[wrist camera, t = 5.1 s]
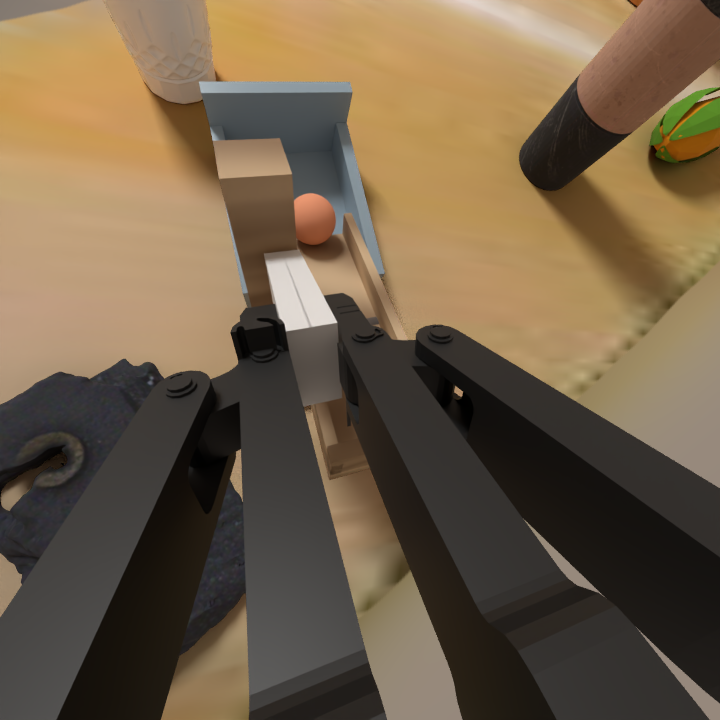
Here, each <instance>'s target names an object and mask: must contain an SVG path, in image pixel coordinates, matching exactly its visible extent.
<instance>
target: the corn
mask: <svg viewBox="0 0 720 720" xmlns="http://www.w3.org/2000/svg"><path fill="white" fill-rule="evenodd" d="M718 90H720V87H718V88H709V89H705V90H700V91H696V92H694V93H693V94H691V95H689V96H688V97H686V98H684V99H682V100H681V101H679V102H677V103H676V104H674V105H672V106H671V107H670V109H669V110H668V111H667V112H666V114H665V115H664V116H663V118H662V119H661V120H660V122H659V123H658V125H657V126H656V127H655V129H654V130H653V132H652V135H651V140H650V145H653V146H654V147H655V148H656V150H657V152H656V157H658V158H660V159H662V160H665V161H668V162H671V163H684V162H691V161H694V160H697V159H699V158H702V157H705V156H707V155H708V154H710V153H712V152H714V151H715V150H717V149H718V148H719V147H718V146H719V145H720V96H719V97H715V98H712V99H708V100H704V101H701V102H697V101H698V100H699V99H701V98H702V97H703V96H704V95H708V94H711V93H713V92H716V91H718ZM696 102H697V103H696Z"/></svg>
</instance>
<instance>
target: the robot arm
mask: <svg viewBox="0 0 720 720" xmlns="http://www.w3.org/2000/svg"><path fill="white" fill-rule="evenodd" d="M264 258H265V263H266V268H267V274H268V279H269V284H270V290H271V295H272V301H273V304H270V305H263V306H256V307H250V308H246V309H245V310H244V311H243V313H242V314H241V315H240V322H238V323H237V324H236V325H235V326H233V327H232V330H231V332H230V333H231V336H232V340H233V343H234V347H235V350H236V354H237V357H238V365H237V366H236V367H235V368H233V369H232V370H230V371H229V372H227V373H225V374H223V375H221V376H218V377H216V378H213V379H210V378H209V376H208V375H207V374H205V373H203V372H201V371H185V372H179V373H176V374H173V375H171V376H168V377H167V378H165V379H163V380H162V381H160V382H159V383H158V384H157V385H156V386H155V387H154V388H153V389H152V390H151V392H150V393H149V395H148V396H147V398H146V399H145V401H144V402H143V404H142V405H141V407H140V408H139V410H138V411H137V413H136V414H135V416H134V417H133V419H132V420H131V422H130V423H129V425H128V426H127V428H126V429H125V431H124V432H123V434H122V435H121V437H120V438H119V440H118V441H117V443H116V445H115V446H114V448H113V449H112V451H111V452H110V454H109V455H108V457H107V458H106V460H105V461H104V463H103V464H102V466H101V467H100V469H99V470H98V472H97V473H96V475H95V476H94V478H93V479H92V481H91V482H90V484H89V485H88V487H87V488H86V490H85V491H84V493H83V494H82V496H81V497H80V499H79V500H78V502H77V503H76V505H75V506H74V508H73V509H72V511H71V512H70V514H69V515H68V517H67V518H66V520H65V521H64V523H63V524H62V526H61V527H60V529H59V530H58V532H57V533H56V535H55V536H54V538H53V539H52V541H51V542H50V544H49V545H48V547H47V548H46V550H45V551H44V553H43V554H42V556H41V557H40V559H39V560H38V562H37V563H36V565H35V566H34V568H33V569H32V571H31V572H30V574H29V575H28V577H27V578H26V580H25V581H24V583H23V584H22V586H21V587H20V589H19V590H18V592H17V593H16V595H15V596H14V598H13V599H12V601H11V602H10V604H9V605H8V607H7V608H6V610H5V611H4V613H3V614H2V616H1V617H0V720H161V717H162V714H163V710H164V707H165V703H166V700H167V696H168V693H169V689H170V686H171V682H172V679H173V675H174V672H175V668H176V665H177V661H178V658H179V654H180V651H181V647H182V644H183V640H184V637H185V633H186V630H187V626H188V623H189V619H190V616H191V612H192V609H193V605H194V602H195V598H196V595H197V591H198V588H199V584H200V581H201V577H202V574H203V570H204V567H205V563H206V560H207V556H208V553H209V549H210V546H211V543H212V539H213V536H214V532H215V529H216V525H217V522H218V518H219V515H220V511H221V508H222V504H223V501H224V497H225V494H226V490H227V487H228V483H229V480H230V476H231V473H232V469H233V466H234V462H235V459H236V451H238V450H240V449H241V459H242V489H243V518H244V548H245V578H246V608H247V637H248V667H249V720H387V718H386V714H385V711H384V707H383V704H382V700H381V697H380V694H379V691H378V688H377V685H376V683H375V680H374V677H373V675H372V672H371V668H370V665H369V662H368V658H367V654H366V650H365V646H364V642H363V638H362V635H361V631H360V627H359V623H358V619H357V615H356V611H355V607H354V603H353V599H352V595H351V591H350V587H349V584H348V580H347V576H346V572H345V568H344V564H343V560H342V556H341V552H340V548H339V544H338V540H337V536H336V533H335V529H334V525H333V521H332V517H331V513H330V509H329V505H328V501H327V497H326V493H325V489H324V485H323V482H322V478H321V474H320V470H319V466H318V462H317V458H316V454H315V450H314V446H313V442H312V438H311V434H310V431H309V427H308V423H307V419H306V415H305V411H304V406H309V405H313V404H318V403H322V402H326V401H331V400H335V399H340V398H342V388H343V391H344V393H345V397H346V414H347V427H348V426H351V422H352V424H353V427H354V429H355V432H356V434H357V437H358V439H359V442H360V444H361V447H362V449H363V452H364V454H365V457H366V459H367V462H368V464H369V467H370V469H371V472H372V474H373V477H374V479H375V482H376V484H377V487H378V489H379V492H380V494H381V497H382V499H383V502H384V504H385V507H386V509H387V512H388V514H389V517H390V519H391V522H392V524H393V527H394V529H395V532H396V534H397V537H398V539H399V542H400V544H401V547H402V550H403V552H404V555H405V557H406V560H407V562H408V565H409V567H410V570H411V572H412V574H413V577H414V579H415V582H416V585H417V587H418V590H419V592H420V595H421V597H422V600H423V602H424V605H425V607H426V610H427V612H428V615H429V617H430V620H431V622H432V625H433V627H434V630H435V632H436V635H437V637H438V640H439V642H440V645H441V647H442V650H443V652H444V654H445V657H446V660H447V662H448V665H449V668H450V671H451V674H452V677H453V681H454V685H455V691H456V696H457V701H458V705H459V708H460V712H461V716H462V719H463V720H709V718H708V717H707V716H706V715H705V714H704V712H703V711H702V710H701V708H700V707H699V706H698V705H697V703H696V702H695V701H694V700H693V698H692V697H691V696H690V695H689V693H688V692H687V691H686V690H685V688H684V687H683V686H682V685H681V683H680V682H679V681H678V680H677V678H676V677H675V676H674V674H673V673H672V672H671V671H670V669H669V668H668V667H667V666H666V664H665V663H664V662H663V661H662V660H661V658H660V657H659V656H658V654H657V653H656V652H655V651H654V649H653V648H652V647H651V646H650V645H649V643H648V642H647V641H646V640H645V638H644V637H643V636H642V634H641V633H640V632H639V631H638V629H639V630H640V631H641V632H642V633H643V634H644V635H645V636H646V637H647V638H648V639H649V640H650V641H651V642H652V643H653V644H654V645H655V646H656V647H657V648H659V650H660V651H661V652H663V653H664V654H665V655H666V656H667V657H668V658H669V659H670V660H671V661H672V662H673V663H674V664H675V665H677V666H678V667H679V668H680V669H681V670H682V671H683V672H685V674H687V675H688V676H689V677H690V678H691V679H692V680H693V681H694V682H695V683H696V684H698V685H699V686H700V687H701V688H702V689H703V690H704V691H705V692H707V693H708V694H709V695H710V696H712V697H713V698H714V699H715V700H716V701H718V702H719V703H720V488H718V487H717V486H715V485H713V484H712V483H710V482H708V481H707V480H705V479H703V478H702V477H700V476H698V475H697V474H695V473H693V472H692V471H690V470H688V469H687V468H685V467H684V466H682V465H680V464H678V463H677V462H675V461H674V460H672V459H670V458H669V457H667V456H665V455H664V454H662V453H660V452H659V451H657V450H655V449H654V448H652V447H650V446H649V445H647V444H645V443H644V442H642V441H640V440H639V439H637V438H635V437H634V436H632V435H630V434H629V433H627V432H625V431H624V430H622V429H620V428H619V427H617V426H615V425H614V424H612V423H610V422H609V421H607V420H606V419H604V418H602V417H601V416H599V415H597V414H596V413H594V412H592V411H591V410H589V409H587V408H585V407H584V406H582V405H581V404H579V403H577V402H576V401H574V400H572V399H571V398H569V397H567V396H566V395H564V394H562V393H561V392H559V391H557V390H556V389H554V388H552V387H551V386H549V385H548V384H546V383H544V382H543V381H541V380H539V379H538V378H536V377H534V376H533V375H531V374H529V373H528V372H526V371H524V370H523V369H521V368H519V367H518V366H516V365H514V364H513V363H511V362H509V361H508V360H506V359H504V358H503V357H501V356H499V355H498V354H496V353H494V352H493V351H491V350H489V349H488V348H486V347H484V346H483V345H481V344H480V343H478V342H476V341H475V340H473V339H471V338H470V337H468V336H466V335H465V334H463V333H461V332H460V331H458V330H456V329H454V328H451V327H448V326H444V325H430V326H425V327H423V328H421V329H419V330H418V332H417V333H416V340H394V339H391V337H390V336H389V335H388V333H387V332H386V331H385V330H383V329H382V328H379V327H377V326H373V325H370V323H369V322H368V320H367V319H366V317H365V316H364V314H363V313H362V311H360V308H359V307H358V305H357V304H356V302H355V301H354V300H353V298H352V297H350V296H348V295H346V294H344V293H337V294H330V295H324V296H323V294H322V292H321V290H320V289H319V287H318V285H317V283H316V281H315V279H314V277H313V275H312V273H311V271H310V270H309V268H308V266H307V264H306V262H305V260H304V258H303V256H302V254H301V252H300V250H290V251H281V252H272V253H264ZM455 386H457V387H458V388H459V389H460V390H462V391H463V396H462V397H460V396H458V395H457V394H456V393H454V389H455ZM524 520H526V521H527V522H528V523H529V524H530V525H531V526H532V527H533V528H534V529H535V530H536V531H537V532H538V533H539V534H540V535H541V536H542V537H543V538H544V539H545V540H546V541H547V542H548V543H549V544H550V545H551V546H553V547H554V548H555V549H556V550H557V551H558V552H559V553H560V554H561V555H562V556H563V557H564V558H565V559H566V560H567V561H568V562H569V563H570V564H571V565H572V566H573V567H574V568H575V569H576V570H577V571H579V573H581V574H582V575H583V576H584V577H585V578H586V579H587V580H588V581H589V582H590V583H591V584H592V585H593V586H594V587H595V588H596V589H597V590H598V591H599V592H600V593H601V594H602V595H603V596H605V597H603V596H602V595H601V594H599V593H597V592H594V591H591V590H588V589H586V588H583V587H580V586H577V585H576V584H574V583H573V582H572V581H571V580H569V579H568V578H567V577H566V576H565V574H564V573H563V572H562V571H561V570H560V569H559V567H558V566H557V565H556V563H555V562H554V560H553V559H552V558H551V556H550V555H549V554H548V552H547V551H546V549H545V548H544V547H543V545H542V544H541V543H540V541H539V540H538V539H537V537H536V536H535V534H534V533H533V532H532V530H531V529H530V528H529V526H528V525H527V523H526V522H525V521H524ZM635 626H636V627H637V628H638V629H637V628H636V627H635Z"/></svg>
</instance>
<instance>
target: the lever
mask: <svg viewBox="0 0 720 720" xmlns="http://www.w3.org/2000/svg"><path fill="white" fill-rule="evenodd" d="M213 144H214V150H215V157H216V163H217V169H218V176H219V181H220V185H221V189H222V193H223V197H224V201H225V204H226V208H227V212H228V216H229V220H230V224H231V228H232V232H233V236H234V240H235V244H236V248H237V252H238V256H239V260H240V264H241V268H242V272H243V276H244V280H245V284H246V287H247V291H248V295H249V299H250V303H251V307H256V306H263V305H270V304H273V301H272V295H271V290H270V284H269V279H268V274H267V268H266V263H265V258H264V253H272V252H281V251H290V250H300V252H301V254H302V256H303V258H304V260H305V262H306V264H307V266H308V268H309V270H310V271H311V273H312V275H313V277H314V279H315V281H316V283H317V285H318V287H319V289H320V290H321V292H322V294H323V296H324V295H330V294H337V293H344V294H346V295H348V296H350V297H352V298H353V300H354V301H355V302H356V304H357V305H358V307H359V308H360V311H362V313H363V314H364V316H365V317H366V319H367V320H368V322H369V323H370V325H373V326H377V327H379V328H382V329H383V330H385V331H386V332H387V333H388V335H389V336H390V337H391V339H394V340H408V339H407V336H406V334H405V332H404V330H403V327H402V325H401V323H400V321H399V318H398V316H397V314H396V312H395V310H394V307H393V305H392V303H391V301H390V298H389V296H388V294H387V292H386V289H385V287H384V285H383V283H382V280H381V278H380V276H379V274H378V271H377V269H376V267H375V265H374V263H373V260H372V258H371V256H370V254H369V251H368V249H367V247H366V245H365V242H364V240H363V238H362V236H361V233H360V231H359V229H358V227H357V225H356V222H355V220H354V218H353V216H352V213H345V214H344V217H343V230H342V234H334V235H331V236H330V238H329V239H328V240H326V241H325V242H323V243H321V244H317V245H309V244H305V243H303V242H301V241H300V240H298V239H296V226H295V210H294V195H293V179H292V172H291V169H290V166H289V163H288V161H287V158H286V155H285V152H284V149H283V146H282V143H281V140H280V138H273V139H246V140H219V141H213ZM311 408H312V412H313V416H314V420H315V424H316V428H317V432H318V436H319V440H320V444H321V448H322V452H323V456H324V460H325V464H326V468H327V473H328V477H329V480H331V479H335V478H338V477H342V476H345V475H349V474H352V473H356V472H359V471H363V470H366V469H370V467H369V464H368V462H367V459H366V457H365V454H364V452H363V449H362V447H361V444H360V442H359V439H358V437H357V434H356V432H355V429H354V427H353V424H352V422H351V426H348V427H347V414H346V397H345V393H344V391H343V388H342V398H340V399H335V400H331V401H326V402H322V403H318V404H313V405H311Z"/></svg>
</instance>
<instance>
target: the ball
mask: <svg viewBox="0 0 720 720" xmlns="http://www.w3.org/2000/svg"><path fill="white" fill-rule="evenodd" d="M294 210H295V226H296V238H297V239H298V240H300V241H301V242H303V243H305V244H309V245H317V244H321V243H323V242H325V241H326V240H328V239H329V238H330V236H331V235H332V233H333V232H334V229H335V225H336V216H335V212H334V209H333V207H332V206H331V204H330V203H329V202H328V201H327V200H326V199H325V198H324V197H322V196H320V195H318V194H313V193H308V194H304V195H301V196H299V197H298V198H296V199H295V200H294Z"/></svg>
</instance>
